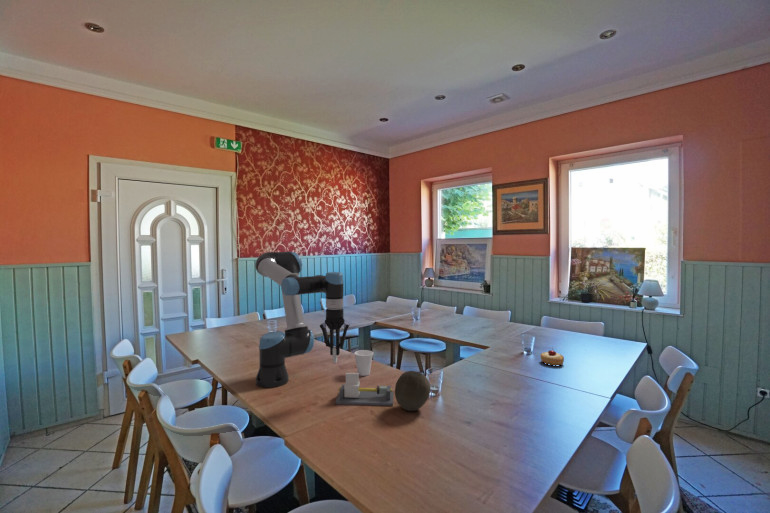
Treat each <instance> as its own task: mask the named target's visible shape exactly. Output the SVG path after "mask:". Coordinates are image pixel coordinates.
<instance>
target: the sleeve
mask: <svg viewBox="0 0 770 513" xmlns="http://www.w3.org/2000/svg"><path fill="white" fill-rule="evenodd" d="M344 385H345V386H344V397H352V398H358V397H359V394H360V391H359V388H361V382H360V375H359V373H358V372H345V383H344Z"/></svg>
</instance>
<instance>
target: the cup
mask: <svg viewBox="0 0 770 513" xmlns="http://www.w3.org/2000/svg"><path fill="white" fill-rule="evenodd" d="M353 353H354V358H355V359H354V360H355V364H356V370H357V372H356V373H359V377H360V376H361V377H366V376H369V375H370V374H371V368H372V361H373V356H374V351H372V350H368V349H365V350H364V349H360V350H356V351H354V352H353Z"/></svg>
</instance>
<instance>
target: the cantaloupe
mask: <svg viewBox="0 0 770 513" xmlns="http://www.w3.org/2000/svg"><path fill="white" fill-rule="evenodd" d="M430 394H431V384H430V381H429V380H428V378H427V377H426V375H424V374H423V373H422V372H419V371H416V370H408V371H404V372H403V373H401V375H400V376H399V377H398V378H397V381H396V383H395V387H394V396H395V399H396V401H397V404H398V405H399V406H400V407H401V408H402V409H403V410H405V411H407V412H414V411H417V410H420V408H423V406H424V405H425V404H426V403H427V401H428V399H429V397H430Z"/></svg>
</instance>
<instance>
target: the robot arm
mask: <svg viewBox="0 0 770 513" xmlns="http://www.w3.org/2000/svg"><path fill="white" fill-rule="evenodd" d="M254 265H255V270H256V272H257V273H258V274H259V275H260V276H262V277H265V278H269V279H270V280H271V281H273V282H275V283H276V284H277V285H279V286H280V287H281V288H280V289H281V295H282V301H283V308H284V315H285V322H286V326H285V327H286V328H285V329H284V331H281V330H278V331H276V330H275V331H270V332H267V333H264V334H263V335H261V337H259V345H258V350H259V352H258V354H259V355H258V356H259V366H258V367H259V368H258V371H257V375H256V377H255V386H257V387H259V388H264V389H265V388H276V387H280V386H283V385H285V384H287V383H288V382H289V373H288V371H287V366H286V363H285V362H286V358H290V357H291V358H292V357H296V356H300V355H305V354H308V353H310V352H311V351H312V350H313V348H314V345H315V334H314V332H313V330H312V329H309V327H308V325H307V324H306V323H305V321H304V316H303V314H304V313H303V309H302V301H301V295H308V294H318V293H319V294H320V293H323V294H324V293H325V307H326V309H325V320H324V322H323V323H321V324H320V325H319V327H320V329H321V331H322V332H321V333H322V336H323V339H324V343H325V346H326V347H328V348H329V353H330V354H329V355H330V356H332V364H337V362H338V356H339V355H340V352H341V351H340V349H341V347H343V346H344V344H345V340H346V336H347V332H348V329H349V327H350V325H351V324H350V323H347V322H346V321H345V318H344V282H345V281H344V275H343V274H344V273H343V272H341V271H340V272H339V271H338V272H337V271H328V272H326V273H325V275H322V274H316V275H313V276H312V275H311V276H300V273H301V272H302V270H303V262H302V258H301V256H300V255H299V254H298V253H297V252H295V251H268V252H264V253H262V254H261V255H259V256H258V257H257V259H256V261H255V264H254ZM342 327H343V328H344V329H343V333H342V336H340V335H341V333H340V331H341V328H342ZM327 328H328V329H329V336H328V331H327ZM334 331H335V332H334ZM340 338H341V339H340Z"/></svg>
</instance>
